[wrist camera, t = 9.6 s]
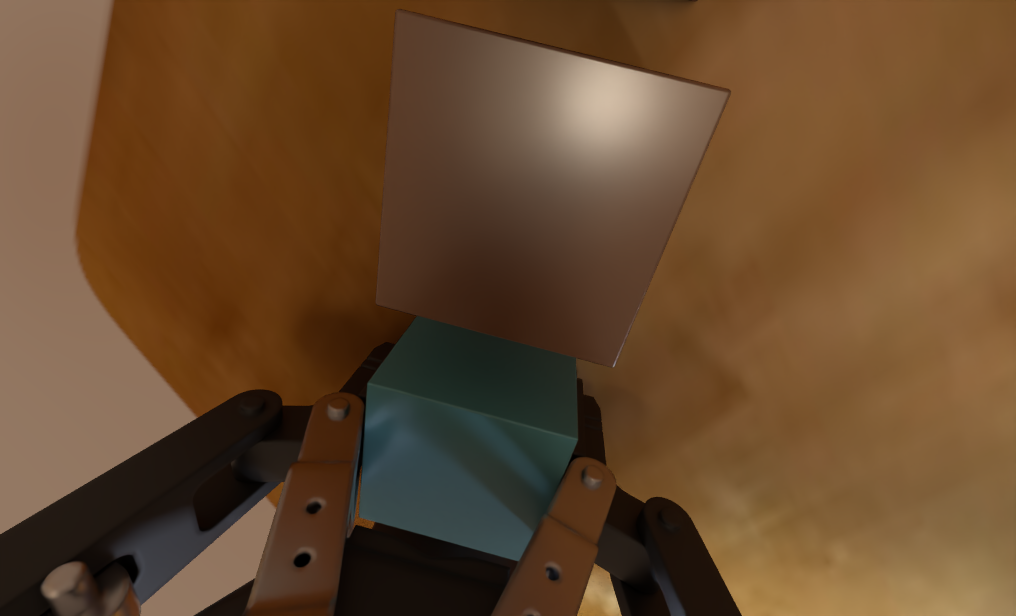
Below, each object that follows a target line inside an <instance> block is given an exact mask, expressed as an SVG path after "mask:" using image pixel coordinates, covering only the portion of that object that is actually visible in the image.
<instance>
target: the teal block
mask: <svg viewBox="0 0 1016 616" xmlns="http://www.w3.org/2000/svg"><path fill="white" fill-rule="evenodd" d="M577 441H578V413H577V375H576V358H575V357H571V356H567V355H563V354H560V353H556V352H552V351H548V350H544V349H541V348H537V347H533V346H529V345H526V344H522V343H518V342H514V341H511V340H507V339H503V338H499V337H495V336H492V335H488V334H484V333H480V332H477V331H473V330H469V329H465V328H462V327H458V326H454V325H450V324H446V323H443V322H439V321H435V320H431V319H428V318H424V317H420V316H417V317H416V318H415V319H414V321H413V322H412V323H411V325H410V326H409V328H408V329H407V330H406V332H405V333H404V334H403V336H402V337H401V338H400V340H399V341H398V342H397V344H396V345H395V346H394V348H393V349H392V350H391V352H390V353H389V354H388V356H387V357H386V359H385V360H384V361H383V363H382V364H381V365H380V367H379V368H378V369H377V371H376V372H375V373H374V375H373V376H372V377H371V379H370V380H369V381H368V383H367V396H366V411H365V427H364V442H363V458H362V474H361V489H360V505H359V517H361V518H364V519H368V520H371V521H375V522H379V523H382V524H386V525H389V526H393V527H397V528H400V529H404V530H407V531H411V532H415V533H418V534H422V535H426V536H429V537H433V538H436V539H440V540H444V541H447V542H451V543H454V544H458V545H462V546H465V547H469V548H472V549H476V550H480V551H483V552H487V553H490V554H494V555H498V556H501V557H505V558H509V559H512V560H516V561H519V560H520V558H521V556H522V554H523V552H524V550H525V548H526V546H527V544H528V542H529V541H530V539H531V537H532V535H533V533H534V531H535V529H536V527H537V525H538V523H539V521H540V519H541V517H542V515H543V514H544V512H546V510H547V508H548V506H549V505H550V503H551V501H552V499H553V497H554V495H555V493H556V491H557V489H558V487H559V485H560V482H561V480H562V477H563V475H564V473H565V470H566V468H567V465H568V463H569V461H570V458H571V456H572V453H573V451H574V449H575V446H576V444H577Z"/></svg>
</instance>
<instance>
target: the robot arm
mask: <svg viewBox="0 0 1016 616" xmlns="http://www.w3.org/2000/svg"><path fill="white" fill-rule="evenodd" d="M402 336H403V335H402ZM402 336H401V337H402ZM399 340H400V339H399ZM399 340H398V341H399ZM396 344H397V343H396ZM396 344H392V343H388V342H386V343H384V344H382V345H380V346H378V347H376V348H374V350H373V351H372V352H371V353H370V354H369V356H368V357H367V359H365V361H364V362H363V363H362V364H361V367H359V368H358V369H357V370H356V372H355V373H354V374H353V375H352V377H351V378H350V379H349V380H348V381H347V383H346V384H345V385H344V386H343V388H342V389H341V390H340V391H339V392H337V393H332V394H328V395H326V396H324V397H322V398H320V399H319V400H318V401H317V402H316V403H315V404H314V405H311V406H282V399H281V397H280V396H279V395H278V394H276V393H275V392H272V391H269V390H250V391H246V392H243V393H240V394H238V395H236V396H234V397H232V398H231V399H229V400H227V401H226V402H224V403H222V404H220V405H219V406H217V407H215V408H214V409H212V410H210V411H209V412H207V413H205V414H203V415H202V416H200V417H198V418H197V419H195V420H193V421H192V422H190V423H188V424H187V425H185V426H183V427H181V428H180V429H178V430H176V431H175V432H173V433H171V434H170V435H168V436H166V437H165V438H163V439H161V440H160V441H158V442H156V443H154V444H153V445H151V446H149V447H148V448H146V449H144V450H143V451H141V452H140V453H138V454H136V455H134V456H132V457H131V458H129V459H127V460H126V461H124V462H122V463H121V464H119V465H117V466H115V467H114V468H112V469H110V470H109V471H107V472H105V473H104V474H102V475H100V476H98V477H97V478H95V479H93V480H92V481H90V482H88V483H87V484H85V485H83V486H82V487H80V488H78V489H76V490H75V491H73V492H71V493H70V494H68V495H66V496H65V497H63V498H61V499H60V500H58V501H56V502H55V503H53V504H51V505H49V506H48V507H46V508H44V509H43V510H41V511H39V512H37V513H36V514H34V515H32V516H31V517H29V518H27V519H26V520H24V521H22V522H21V523H19V524H17V525H16V526H14V527H12V528H10V529H9V530H7V531H5V532H4V533H2V534H0V616H140V613H141V605H142V604H143V603H144V602H145V601H146V600H148V599H149V598H150V597H151V596H152V595H153V594H155V593H156V592H157V591H158V590H159V589H160V588H161V587H162V586H164V585H165V584H166V583H167V582H168V581H169V580H170V579H172V578H173V577H174V576H175V575H176V574H177V573H178V572H180V571H181V570H182V569H183V568H184V567H185V566H186V565H188V564H189V563H190V562H191V561H192V560H193V559H194V558H196V557H197V556H198V555H199V554H200V553H201V552H202V551H203V550H204V549H206V548H207V547H208V546H209V545H210V544H211V543H213V542H214V541H215V540H216V539H217V538H218V537H219V536H220V535H222V534H223V533H224V532H225V531H226V530H227V529H228V528H230V527H231V526H232V525H233V524H234V523H235V522H236V521H238V520H239V519H240V518H241V517H242V516H243V515H244V514H246V513H247V512H248V511H249V510H250V509H251V508H252V507H253V506H255V505H256V504H257V503H258V502H259V501H260V500H261V499H263V498H264V497H265V496H266V495H267V494H268V493H269V492H271V491H272V490H273V489H274V488H275V487H276V486H277V485H279V484H280V482H285V483H284V486H283V489H282V493H281V496H280V499H279V502H278V506H277V509H276V512H275V515H274V519H273V522H272V525H271V529H270V532H269V535H268V539H267V542H266V545H265V548H264V551H263V555H262V558H261V561H260V565H259V568H258V571H257V575H256V578H255V579H253V580H251V581H250V582H248V583H246V584H245V585H243V586H242V587H240V588H238V589H237V590H235V591H233V592H232V593H230V594H228V595H227V596H225V597H223V598H222V599H220V600H219V601H217V602H215V603H214V604H212V605H210V606H209V607H207V608H205V609H204V610H203V611H201V612H199V613H198V614H196V615H194V616H577V614H578V611H579V608H580V605H581V602H582V599H583V596H584V593H585V590H586V587H587V584H588V581H589V578H590V575H591V571H592V568H593V565H594V563H595V564H597V565H598V566H600V567H601V568H603V569H605V570H606V571H608V572H609V573H610V577H611V581H612V584H613V587H614V591H615V594H616V598H617V601H618V604H619V608H620V611H621V614H622V616H742V615H741V613H740V611H739V609H738V608H737V606H736V604H735V602H734V600H733V598H732V596H731V594H730V592H729V590H728V588H727V586H726V585H725V583H724V581H723V579H722V577H721V575H720V573H719V571H718V569H717V567H716V565H715V563H714V562H713V560H712V558H711V556H710V554H709V552H708V550H707V548H706V546H705V544H704V542H703V540H702V539H701V537H700V535H699V533H698V531H697V529H696V527H695V525H694V523H693V521H692V520H691V518H690V517H689V515H688V514H687V513H686V512H685V511H684V510H683V509H682V508H681V507H680V506H679V505H677V504H676V503H674V502H673V501H671V500H668V499H666V498H662V497H653V498H650V499H648V500H647V501H646V503H643V502H642V501H640V500H638V499H636V498H635V497H633V496H631V495H629V494H628V493H626V492H624V491H623V490H622V489H620V488H619V487H618V486H617V485H616V480H615V478H614V475H613V474H612V472H611V471H610V470H609V469H608V468H607V467H606V459H605V449H604V439H603V432H602V422H601V411H600V407H599V406H598V404H597V402H596V401H595V399H594V397H591V396H587V395H583V383H582V379H578V378H577V413H578V441H577V444H576V446H575V449H574V451H573V453H572V456H571V458H570V461H569V463H568V465H567V468H566V470H565V473H564V475H563V477H562V480H561V482H560V485H559V487H558V489H557V491H556V493H555V495H554V497H553V499H552V501H551V503H550V505H549V506H548V508H547V510H546V512H544V514H543V515H542V517H541V519H540V521H539V523H538V525H537V527H536V529H535V531H534V533H533V535H532V537H531V539H530V541H529V542H528V544H527V546H526V548H525V550H524V552H523V554H522V556H521V558H520V560H519V562H518V564H517V566H516V568H515V570H514V572H513V574H512V575H511V577H510V579H509V574H510V567H507V566H503V565H500V564H496V563H492V562H489V561H485V560H482V559H478V558H474V557H430V556H427V555H425V554H424V553H422V552H420V551H419V550H417V549H415V548H414V547H412V546H410V545H409V544H407V543H405V542H404V541H402V540H401V539H399V538H397V537H396V536H394V535H391V534H387V533H384V532H380V531H376V530H373V529H369V528H366V527H362V526H358V525H355V527H354V519H355V511H356V503H357V495H358V487H359V478H360V468H361V466H362V458H363V442H364V427H365V411H366V396H367V383H368V381H369V380H370V379H371V377H372V376H373V375H374V373H375V372H376V371H377V369H378V368H379V367H380V365H381V364H382V363H383V361H384V360H385V359H386V357H387V356H388V354H389V353H390V352H391V350H392V349H393V348H394V346H395V345H396ZM353 527H354V529H353Z"/></svg>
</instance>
